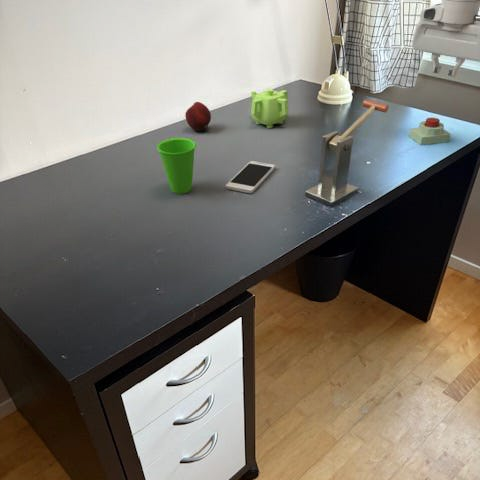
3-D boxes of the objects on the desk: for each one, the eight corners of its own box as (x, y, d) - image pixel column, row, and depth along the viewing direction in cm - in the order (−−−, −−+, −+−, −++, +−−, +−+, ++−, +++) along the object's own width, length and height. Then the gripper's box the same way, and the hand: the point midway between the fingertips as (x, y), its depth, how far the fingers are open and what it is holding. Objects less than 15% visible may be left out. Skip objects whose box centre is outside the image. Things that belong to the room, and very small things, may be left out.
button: (433, 123, 136) (435, 116, 135) (440, 127, 133) (442, 121, 132) (422, 124, 136) (423, 118, 134) (429, 129, 133) (430, 122, 132)
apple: (199, 123, 151) (197, 97, 145) (217, 129, 147) (216, 102, 141) (182, 130, 147) (179, 103, 141) (200, 136, 143) (198, 108, 137)
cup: (155, 190, 117) (148, 146, 110) (182, 177, 122) (178, 134, 115) (180, 201, 113) (174, 156, 105) (207, 187, 118) (203, 144, 110)
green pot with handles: (287, 116, 154) (288, 83, 147) (289, 129, 145) (290, 95, 139) (250, 116, 154) (250, 84, 148) (250, 130, 146) (250, 96, 139)
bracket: (331, 181, 118) (337, 125, 109) (357, 192, 114) (366, 134, 105) (305, 195, 113) (309, 137, 104) (331, 207, 109) (338, 147, 100)
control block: (436, 132, 140) (439, 118, 137) (449, 141, 135) (453, 127, 132) (408, 136, 139) (411, 122, 136) (420, 145, 134) (423, 130, 131)
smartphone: (225, 188, 117) (225, 185, 116) (250, 163, 127) (250, 160, 127) (251, 193, 114) (251, 190, 114) (275, 168, 125) (275, 164, 124)
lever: (367, 105, 111) (366, 96, 110) (388, 111, 108) (388, 102, 106) (323, 149, 108) (321, 140, 106) (344, 156, 105) (343, 147, 103)
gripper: (506, 15, 112) (487, 79, 121) (428, 6, 123) (416, 65, 133) (494, 20, 109) (475, 84, 118) (415, 10, 120) (404, 69, 130)
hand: (444, 74), depth 125 cm, fingers open, 3 cm apart
